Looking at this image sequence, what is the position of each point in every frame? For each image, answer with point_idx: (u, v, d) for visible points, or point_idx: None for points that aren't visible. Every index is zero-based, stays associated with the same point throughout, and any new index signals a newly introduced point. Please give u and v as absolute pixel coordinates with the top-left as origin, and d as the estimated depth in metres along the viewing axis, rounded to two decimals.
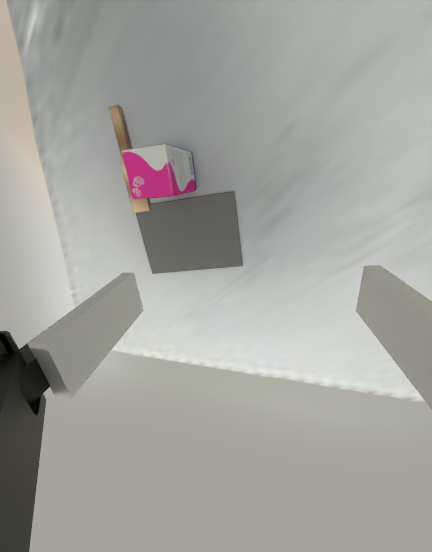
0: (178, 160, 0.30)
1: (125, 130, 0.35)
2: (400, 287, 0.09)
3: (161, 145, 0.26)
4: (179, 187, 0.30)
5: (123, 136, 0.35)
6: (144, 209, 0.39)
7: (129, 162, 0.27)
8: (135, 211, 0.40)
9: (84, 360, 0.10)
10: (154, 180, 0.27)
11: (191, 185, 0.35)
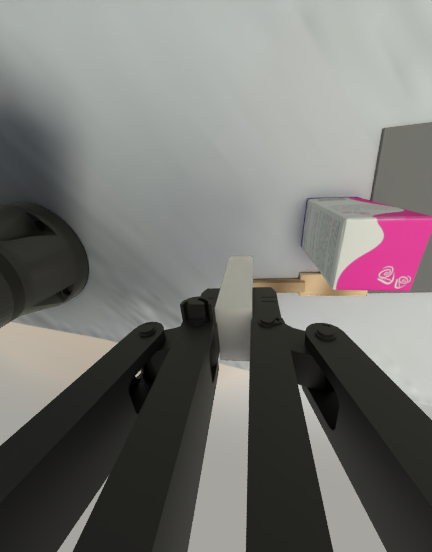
0: (347, 208, 0.19)
1: (265, 280, 0.30)
2: (244, 270, 0.13)
3: (346, 225, 0.15)
4: (399, 210, 0.17)
5: (272, 284, 0.29)
6: None
7: (353, 282, 0.17)
8: (365, 292, 0.28)
9: None
10: (396, 248, 0.16)
11: (363, 200, 0.22)
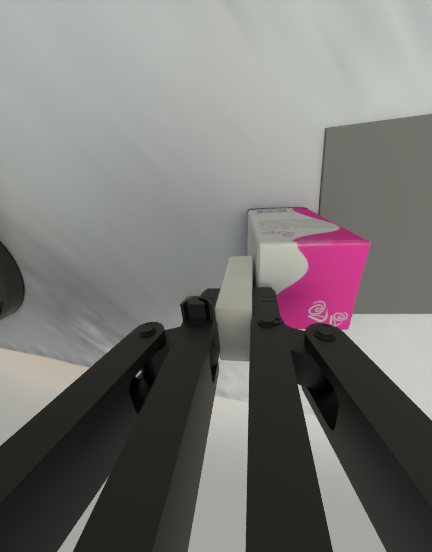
0: (276, 225, 0.15)
1: None
2: (244, 270, 0.12)
3: (261, 251, 0.12)
4: (334, 228, 0.14)
5: None
6: None
7: None
8: None
9: None
10: (325, 279, 0.12)
11: (306, 212, 0.19)
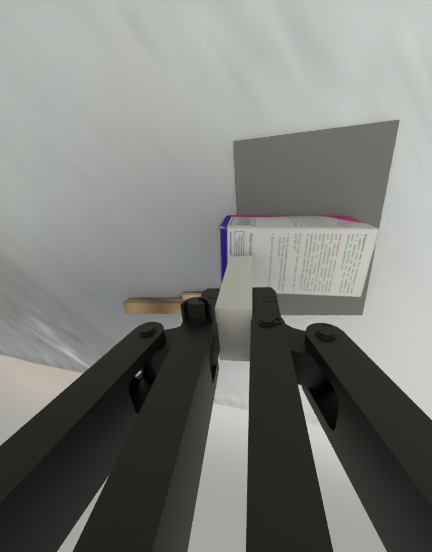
0: (315, 223, 0.18)
1: (149, 300, 0.28)
2: (244, 270, 0.13)
3: (377, 234, 0.16)
4: (321, 216, 0.20)
5: (154, 305, 0.27)
6: None
7: None
8: None
9: None
10: None
11: (255, 216, 0.21)
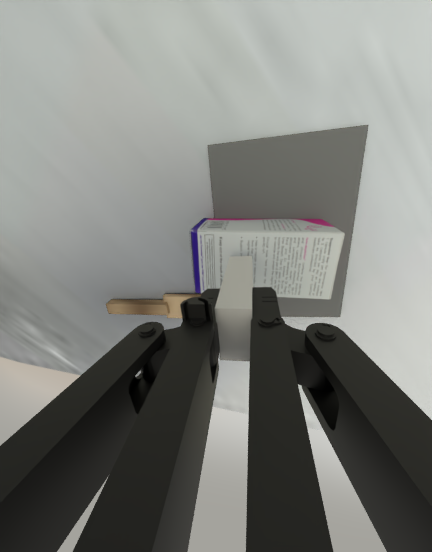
0: (284, 226, 0.18)
1: (131, 301, 0.28)
2: (244, 270, 0.12)
3: (343, 238, 0.16)
4: (295, 219, 0.21)
5: (135, 306, 0.27)
6: None
7: None
8: None
9: None
10: None
11: (231, 219, 0.21)
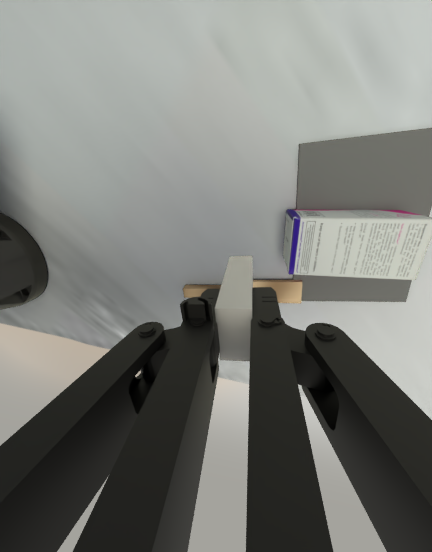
0: (376, 215, 0.20)
1: (206, 286, 0.31)
2: (244, 270, 0.12)
3: None
4: (376, 210, 0.23)
5: None
6: (299, 288, 0.28)
7: None
8: (299, 300, 0.29)
9: None
10: None
11: None
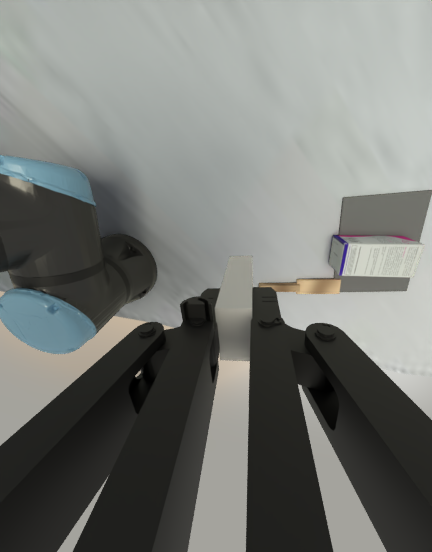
0: (390, 241, 0.36)
1: (274, 284, 0.46)
2: (244, 270, 0.13)
3: (423, 247, 0.34)
4: (388, 236, 0.39)
5: (279, 286, 0.45)
6: (338, 283, 0.44)
7: None
8: (338, 291, 0.44)
9: None
10: None
11: (352, 236, 0.39)
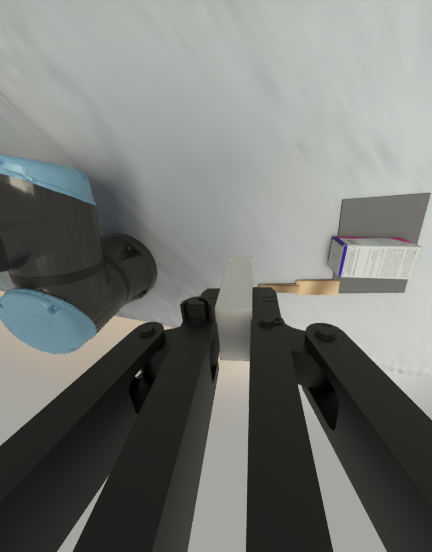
0: (389, 243, 0.36)
1: (274, 284, 0.46)
2: (244, 270, 0.13)
3: (421, 249, 0.35)
4: (387, 238, 0.39)
5: (278, 287, 0.46)
6: (337, 285, 0.44)
7: None
8: (337, 293, 0.45)
9: None
10: None
11: (351, 237, 0.40)
